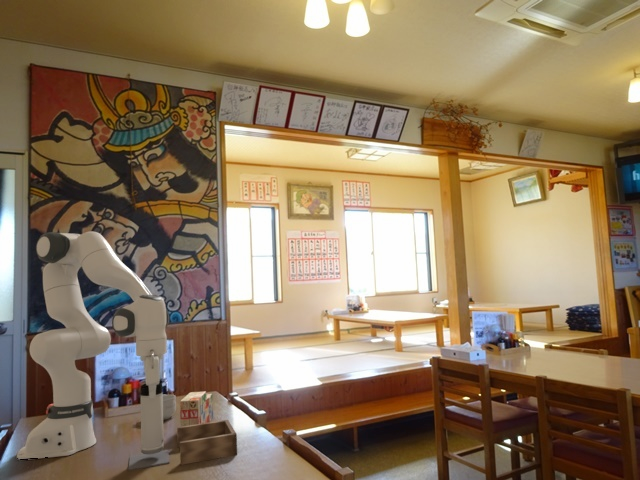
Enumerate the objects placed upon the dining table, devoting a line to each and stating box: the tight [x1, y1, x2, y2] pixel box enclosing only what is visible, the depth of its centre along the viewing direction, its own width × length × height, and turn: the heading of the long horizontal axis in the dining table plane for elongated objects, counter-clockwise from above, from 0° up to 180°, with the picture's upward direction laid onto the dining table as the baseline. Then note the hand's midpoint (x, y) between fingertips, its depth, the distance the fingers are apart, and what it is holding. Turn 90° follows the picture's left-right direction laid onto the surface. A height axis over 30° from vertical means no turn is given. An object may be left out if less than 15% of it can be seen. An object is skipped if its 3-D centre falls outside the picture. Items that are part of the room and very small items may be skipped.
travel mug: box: [140, 379, 165, 454], centre depth 138 cm, size 6×7×20 cm
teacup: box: [162, 394, 177, 421], centre depth 182 cm, size 14×11×8 cm
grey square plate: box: [128, 449, 170, 471], centre depth 136 cm, size 11×11×1 cm
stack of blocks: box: [179, 391, 214, 427], centre depth 167 cm, size 21×6×12 cm, turn 0°
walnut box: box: [176, 419, 238, 466], centre depth 142 cm, size 16×16×6 cm
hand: (152, 394), depth 138 cm, fingers closed on travel mug, 6 cm apart
